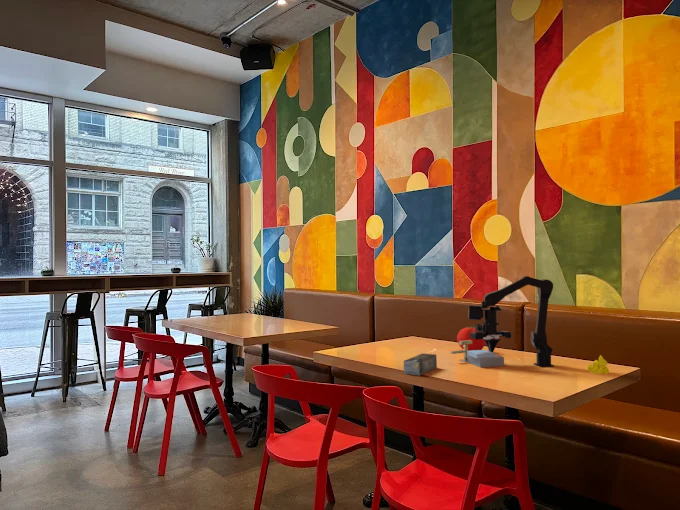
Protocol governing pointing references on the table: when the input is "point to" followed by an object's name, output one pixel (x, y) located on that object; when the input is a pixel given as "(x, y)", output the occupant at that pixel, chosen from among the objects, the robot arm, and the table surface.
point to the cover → (481, 354)
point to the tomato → (465, 335)
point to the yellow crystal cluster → (598, 366)
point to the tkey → (464, 348)
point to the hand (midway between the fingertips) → (491, 353)
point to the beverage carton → (420, 364)
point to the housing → (486, 361)
